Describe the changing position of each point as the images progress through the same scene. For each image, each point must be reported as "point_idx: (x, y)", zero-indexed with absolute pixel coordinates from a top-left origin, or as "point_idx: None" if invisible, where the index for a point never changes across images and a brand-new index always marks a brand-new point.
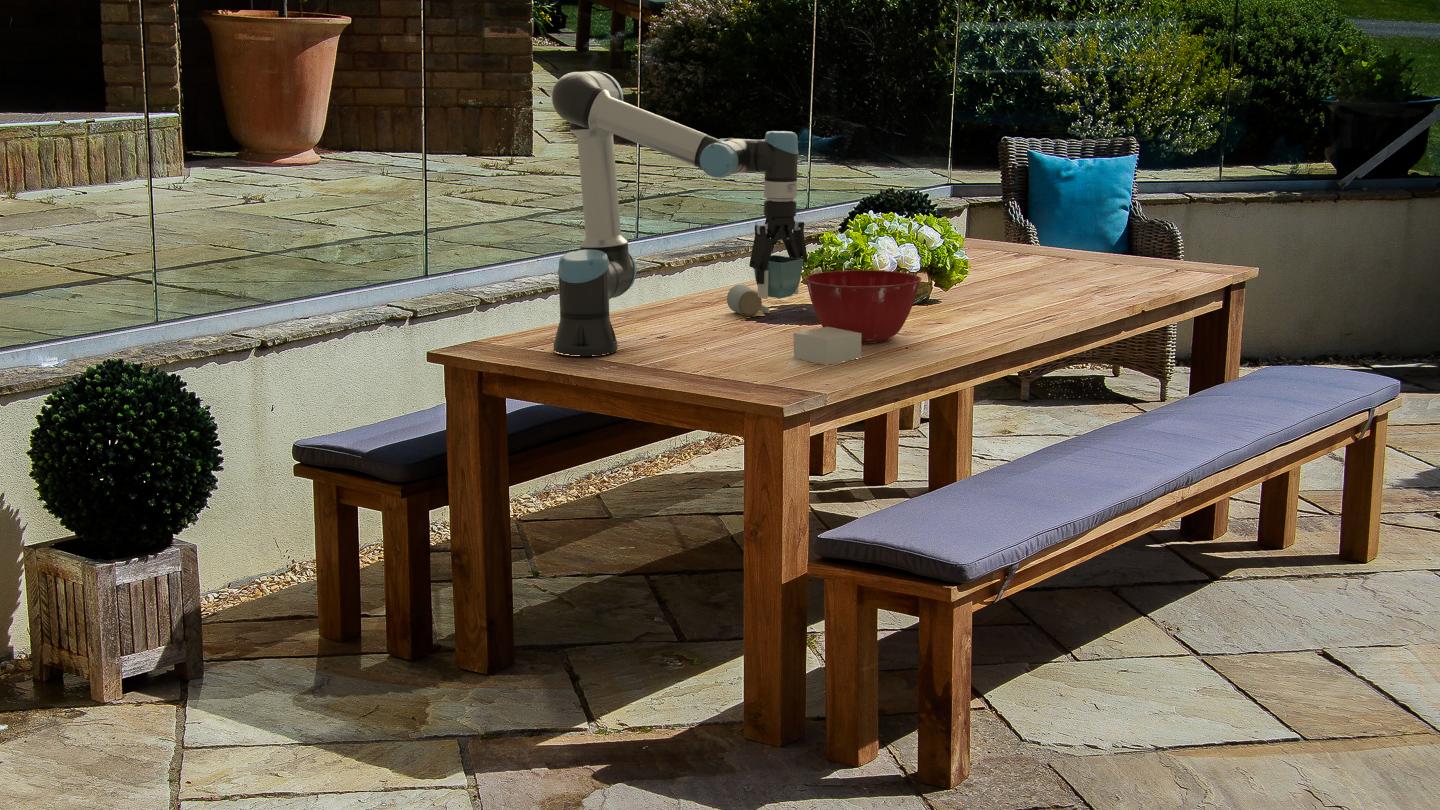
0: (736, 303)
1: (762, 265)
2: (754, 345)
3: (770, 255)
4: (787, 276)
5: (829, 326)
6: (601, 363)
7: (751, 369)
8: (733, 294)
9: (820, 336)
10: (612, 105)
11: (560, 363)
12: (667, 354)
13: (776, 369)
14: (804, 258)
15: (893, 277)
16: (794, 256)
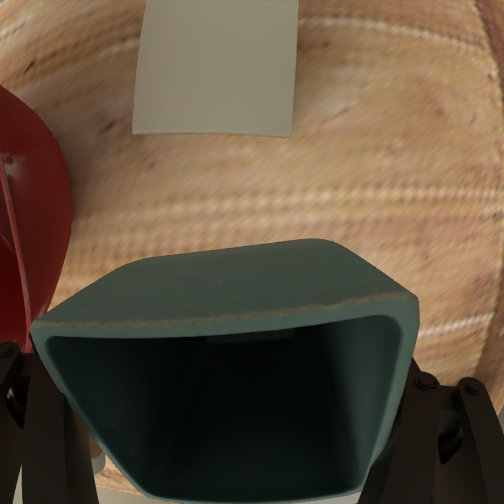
0: (103, 453)
1: (437, 397)
2: None
3: (396, 464)
4: (286, 255)
5: (70, 213)
6: (490, 354)
7: (439, 139)
8: (98, 466)
9: (278, 34)
10: None
11: (498, 377)
12: None
13: (406, 93)
14: (7, 362)
15: None
16: (68, 413)
